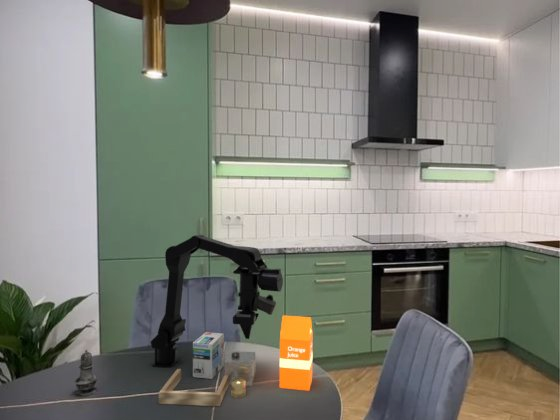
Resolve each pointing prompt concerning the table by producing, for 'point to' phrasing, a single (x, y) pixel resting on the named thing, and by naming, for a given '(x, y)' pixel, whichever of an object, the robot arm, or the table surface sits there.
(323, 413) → the table surface
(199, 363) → the light bulb box
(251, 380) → the grey cube with knob
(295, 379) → the orange juice
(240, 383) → the olive rounded piece
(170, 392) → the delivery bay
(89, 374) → the grey chess piece
